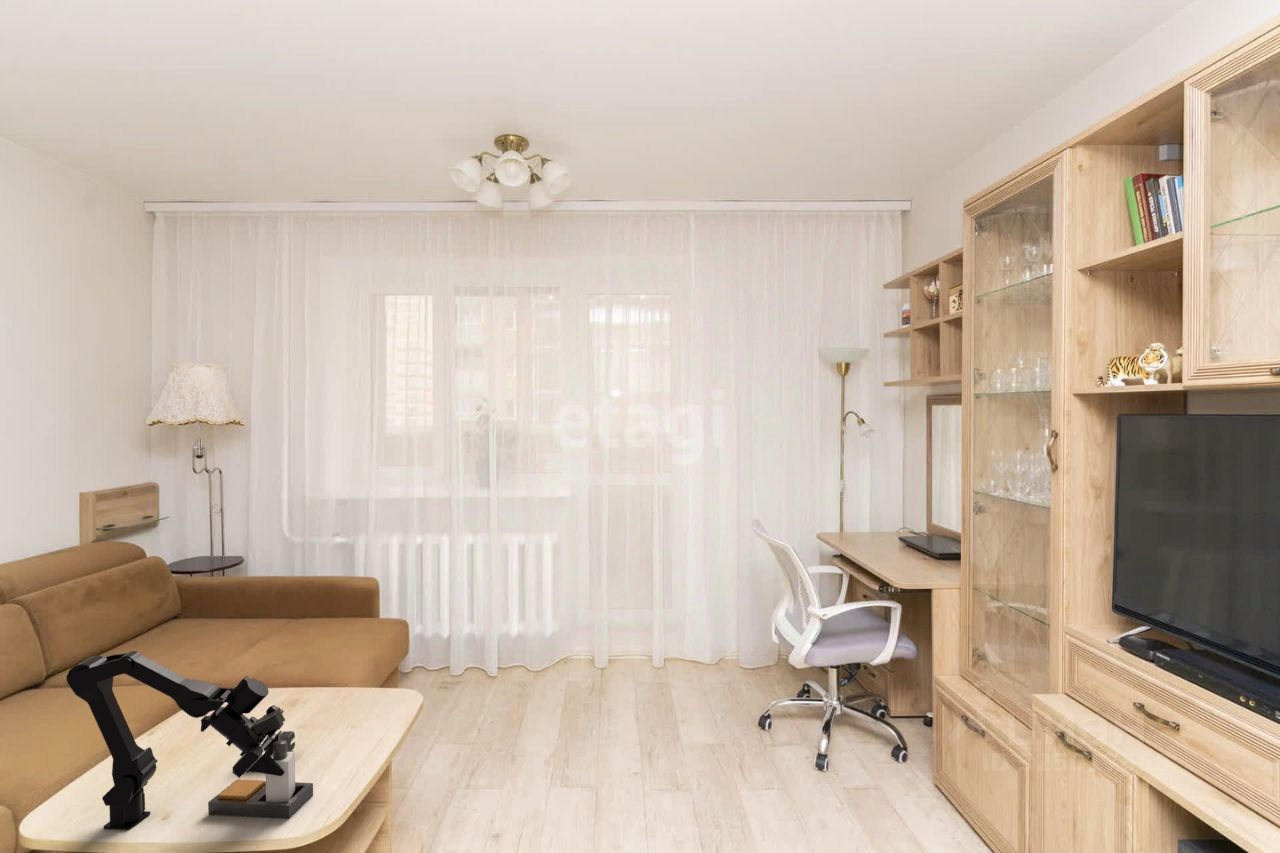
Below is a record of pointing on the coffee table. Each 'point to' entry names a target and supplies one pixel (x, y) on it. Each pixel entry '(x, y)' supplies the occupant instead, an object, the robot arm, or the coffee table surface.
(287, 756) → the white soap bottle
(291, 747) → the end cap
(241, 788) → the two-compartment sponge tray
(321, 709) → the coffee table surface
